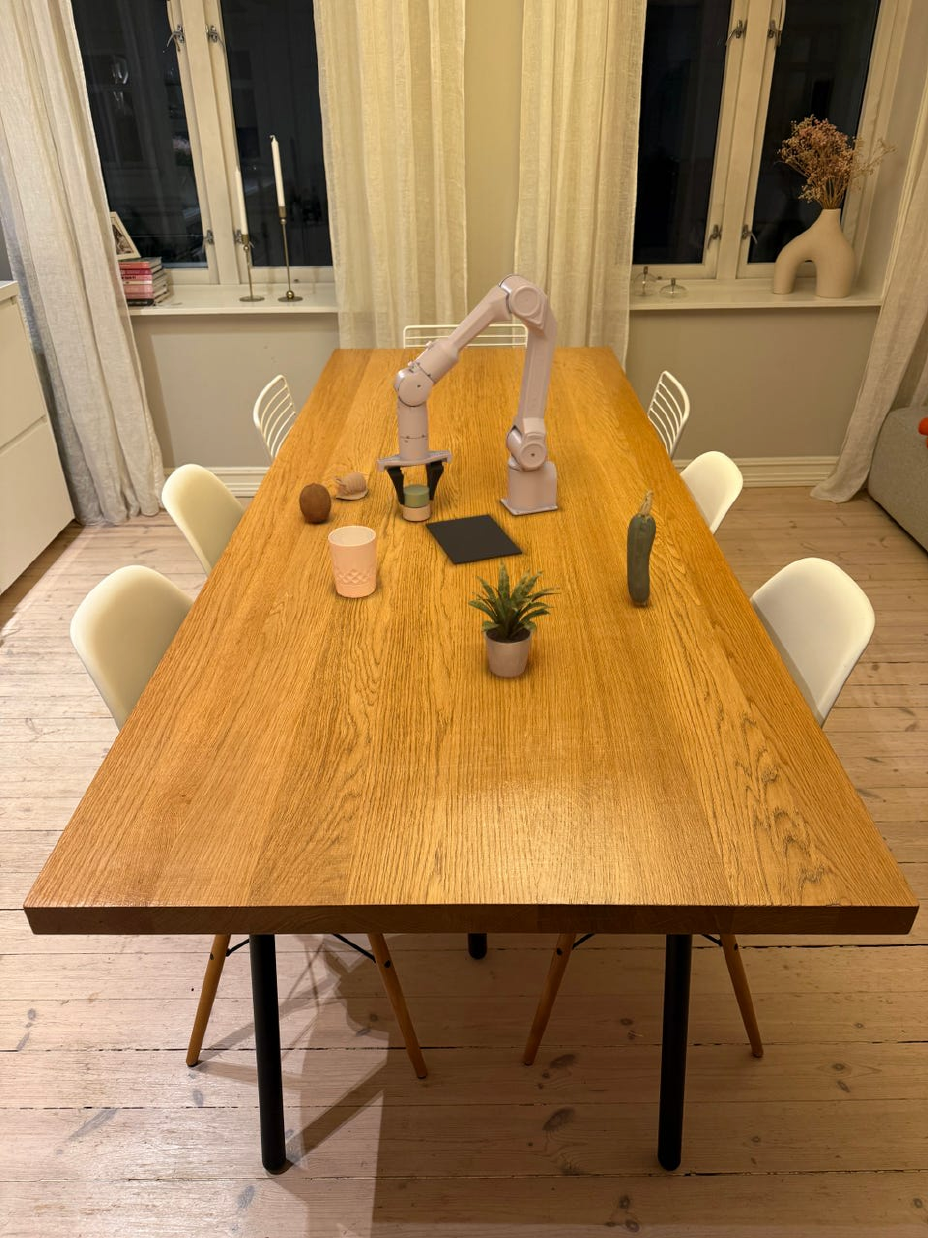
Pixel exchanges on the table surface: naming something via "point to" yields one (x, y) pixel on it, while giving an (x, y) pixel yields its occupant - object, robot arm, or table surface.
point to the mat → (472, 539)
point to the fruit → (315, 502)
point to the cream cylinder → (416, 512)
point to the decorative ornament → (351, 486)
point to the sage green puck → (416, 495)
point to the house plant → (510, 622)
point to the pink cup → (353, 560)
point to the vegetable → (640, 551)
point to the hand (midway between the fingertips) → (416, 500)
